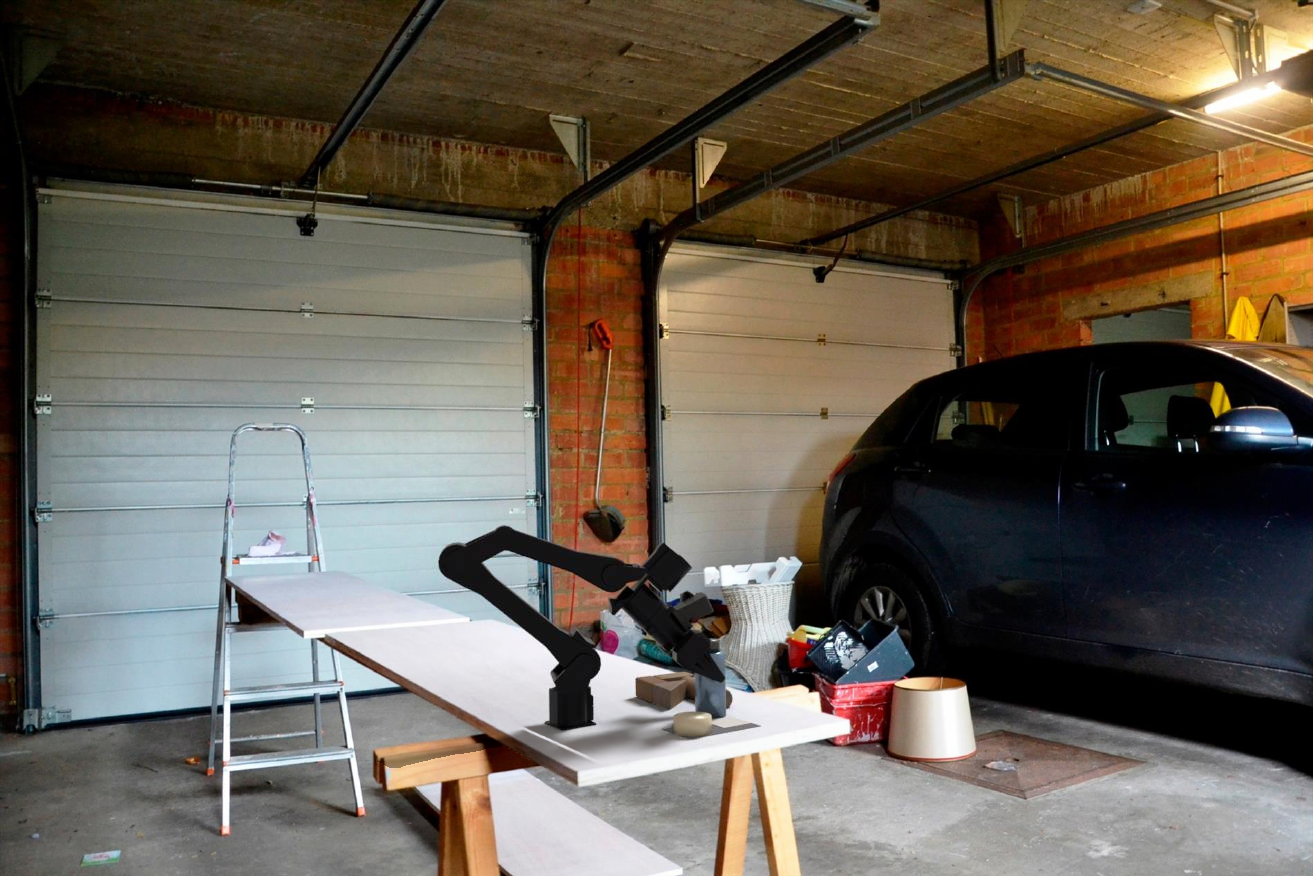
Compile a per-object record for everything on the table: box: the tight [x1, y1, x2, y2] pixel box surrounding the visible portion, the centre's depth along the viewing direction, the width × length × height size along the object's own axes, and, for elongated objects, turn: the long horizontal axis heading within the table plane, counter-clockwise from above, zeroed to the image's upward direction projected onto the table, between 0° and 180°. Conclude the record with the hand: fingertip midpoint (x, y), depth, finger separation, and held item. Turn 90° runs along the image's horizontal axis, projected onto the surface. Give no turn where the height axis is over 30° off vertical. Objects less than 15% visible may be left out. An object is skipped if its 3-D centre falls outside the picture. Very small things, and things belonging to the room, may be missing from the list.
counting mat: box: [661, 716, 761, 740], centre depth 161 cm, size 14×8×1 cm, turn 123°
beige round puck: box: [673, 711, 713, 737], centre depth 159 cm, size 6×6×2 cm
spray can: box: [694, 637, 727, 720], centre depth 170 cm, size 5×5×13 cm
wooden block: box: [635, 671, 734, 710], centre depth 182 cm, size 4×11×18 cm
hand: (716, 675), depth 170 cm, fingers open, 9 cm apart
